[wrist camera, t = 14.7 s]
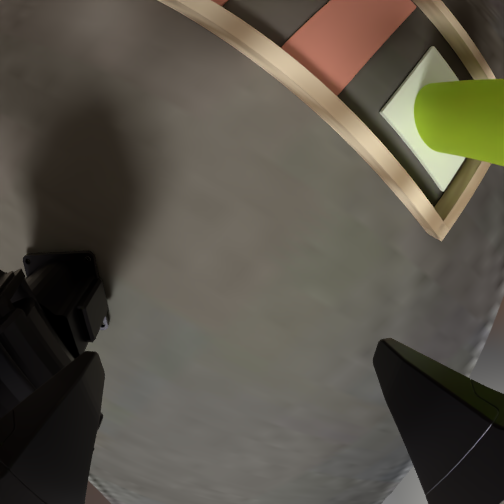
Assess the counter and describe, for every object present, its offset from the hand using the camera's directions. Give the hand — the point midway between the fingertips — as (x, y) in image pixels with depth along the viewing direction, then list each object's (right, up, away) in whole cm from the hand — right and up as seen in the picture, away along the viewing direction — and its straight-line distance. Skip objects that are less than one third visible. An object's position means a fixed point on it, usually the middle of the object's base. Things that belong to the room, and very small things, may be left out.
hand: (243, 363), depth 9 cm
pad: (+16, +14, +11) cm, 24 cm away
